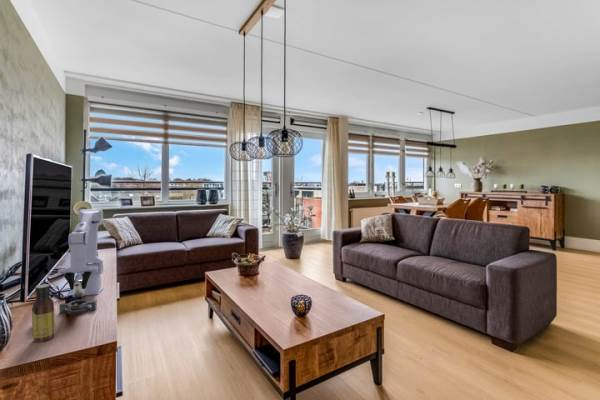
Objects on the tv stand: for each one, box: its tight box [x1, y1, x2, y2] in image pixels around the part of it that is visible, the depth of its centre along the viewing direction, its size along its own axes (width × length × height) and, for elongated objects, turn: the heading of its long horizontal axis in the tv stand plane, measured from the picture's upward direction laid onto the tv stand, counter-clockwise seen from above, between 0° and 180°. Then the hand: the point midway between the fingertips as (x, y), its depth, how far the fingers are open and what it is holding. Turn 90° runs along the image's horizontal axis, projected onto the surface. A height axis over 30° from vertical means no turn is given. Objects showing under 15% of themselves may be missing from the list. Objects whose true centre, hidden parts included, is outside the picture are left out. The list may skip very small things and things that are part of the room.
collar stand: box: [58, 299, 98, 316], centre depth 136 cm, size 8×14×4 cm, turn 109°
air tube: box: [72, 278, 85, 298], centre depth 135 cm, size 4×4×7 cm
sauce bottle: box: [31, 283, 56, 343], centre depth 111 cm, size 7×6×20 cm
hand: (78, 288), depth 135 cm, fingers closed on air tube, 4 cm apart
